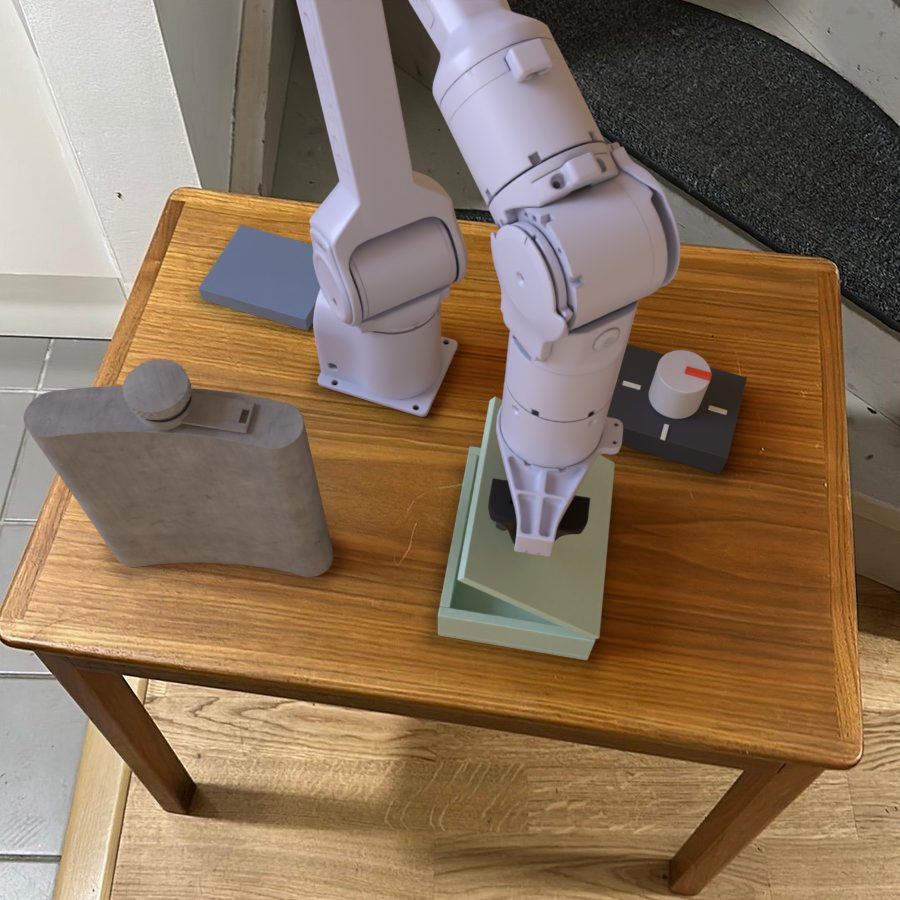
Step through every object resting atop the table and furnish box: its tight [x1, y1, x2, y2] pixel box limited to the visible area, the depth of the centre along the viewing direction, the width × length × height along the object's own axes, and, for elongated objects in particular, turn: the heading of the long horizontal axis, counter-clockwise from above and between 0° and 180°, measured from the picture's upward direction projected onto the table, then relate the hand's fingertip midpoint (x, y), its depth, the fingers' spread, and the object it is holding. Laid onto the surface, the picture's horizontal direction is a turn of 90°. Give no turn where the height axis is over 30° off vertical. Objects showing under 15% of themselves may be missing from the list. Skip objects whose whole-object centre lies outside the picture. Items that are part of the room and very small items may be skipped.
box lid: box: [457, 396, 616, 641], centre depth 60 cm, size 11×13×4 cm
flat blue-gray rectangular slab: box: [198, 224, 321, 331], centre depth 80 cm, size 10×8×2 cm
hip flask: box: [23, 358, 335, 578], centre depth 59 cm, size 16×4×20 cm, turn 87°
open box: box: [437, 445, 596, 661], centre depth 65 cm, size 10×13×4 cm
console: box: [607, 343, 747, 475], centre depth 73 cm, size 10×8×3 cm
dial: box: [649, 349, 712, 419], centre depth 70 cm, size 4×4×4 cm
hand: (536, 502), depth 59 cm, fingers closed on box lid, 5 cm apart
